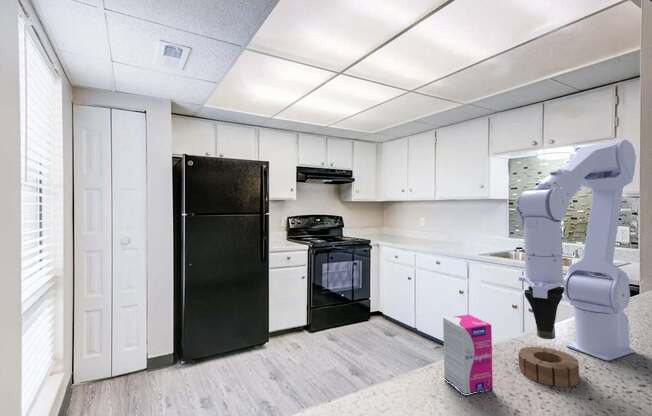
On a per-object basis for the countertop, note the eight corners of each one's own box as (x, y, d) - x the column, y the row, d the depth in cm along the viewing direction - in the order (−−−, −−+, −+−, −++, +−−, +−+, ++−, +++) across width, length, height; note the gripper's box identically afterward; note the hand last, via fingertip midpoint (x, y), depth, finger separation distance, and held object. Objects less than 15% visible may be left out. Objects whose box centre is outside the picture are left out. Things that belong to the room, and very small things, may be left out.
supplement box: (465, 398, 54) (462, 328, 54) (443, 380, 59) (440, 317, 59) (495, 391, 55) (492, 323, 55) (470, 374, 61) (468, 313, 61)
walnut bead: (541, 358, 66) (540, 343, 66) (591, 379, 58) (590, 362, 58) (508, 367, 63) (508, 352, 63) (556, 391, 54) (555, 373, 54)
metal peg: (544, 332, 62) (541, 300, 62) (559, 337, 59) (556, 304, 60) (533, 335, 61) (531, 303, 61) (548, 340, 58) (545, 306, 59)
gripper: (523, 248, 68) (526, 313, 68) (511, 258, 57) (514, 336, 57) (565, 250, 64) (568, 319, 64) (560, 261, 53) (564, 345, 53)
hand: (546, 328), depth 60 cm, fingers closed on metal peg, 3 cm apart
